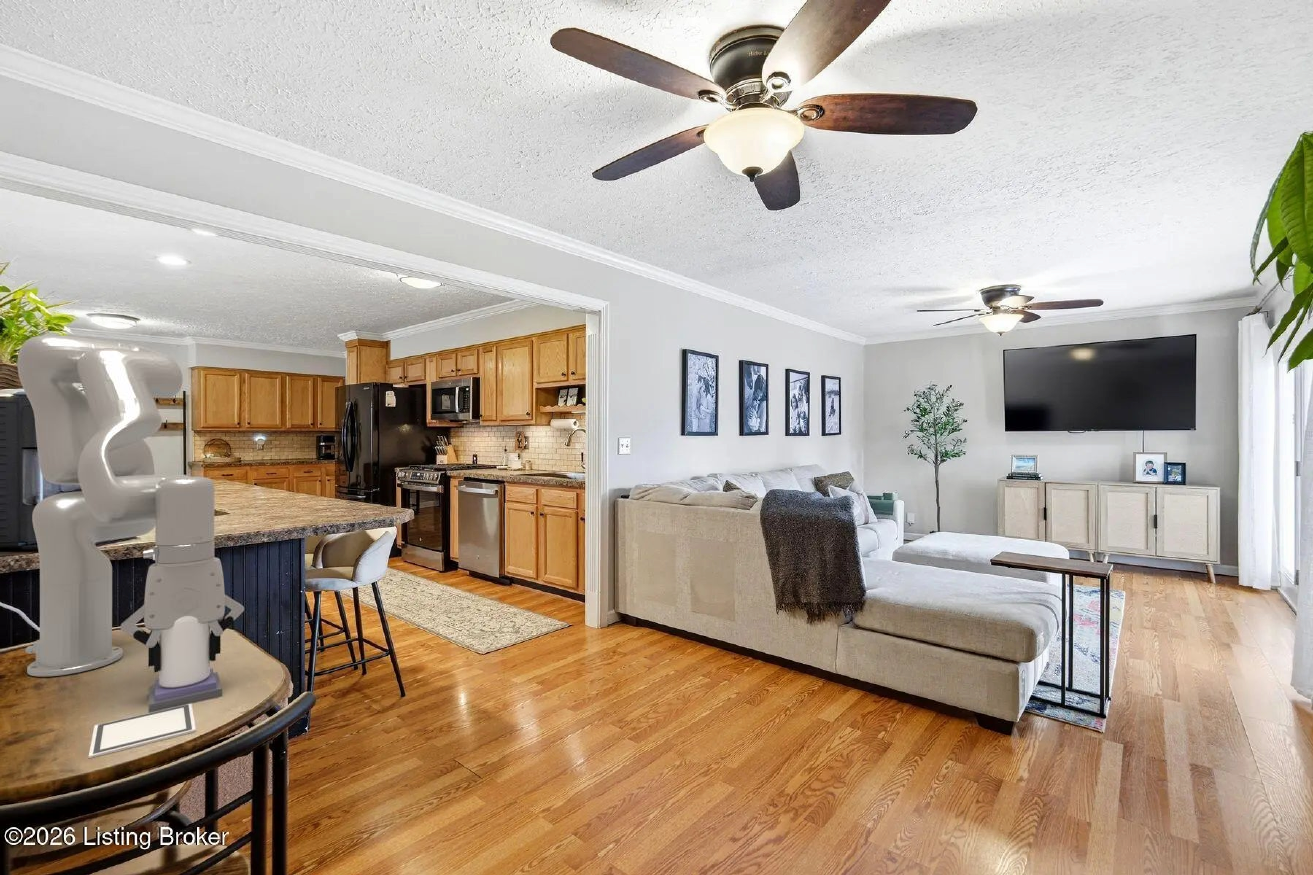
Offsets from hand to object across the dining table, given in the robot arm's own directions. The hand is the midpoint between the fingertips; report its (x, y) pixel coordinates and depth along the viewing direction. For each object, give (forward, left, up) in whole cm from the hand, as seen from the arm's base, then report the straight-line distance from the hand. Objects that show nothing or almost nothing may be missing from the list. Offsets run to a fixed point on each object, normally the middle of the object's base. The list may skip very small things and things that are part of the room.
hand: (185, 663), depth 97 cm
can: (0, 0, -3) cm, 3 cm away
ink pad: (0, 0, -5) cm, 5 cm away
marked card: (+4, -11, -5) cm, 13 cm away
